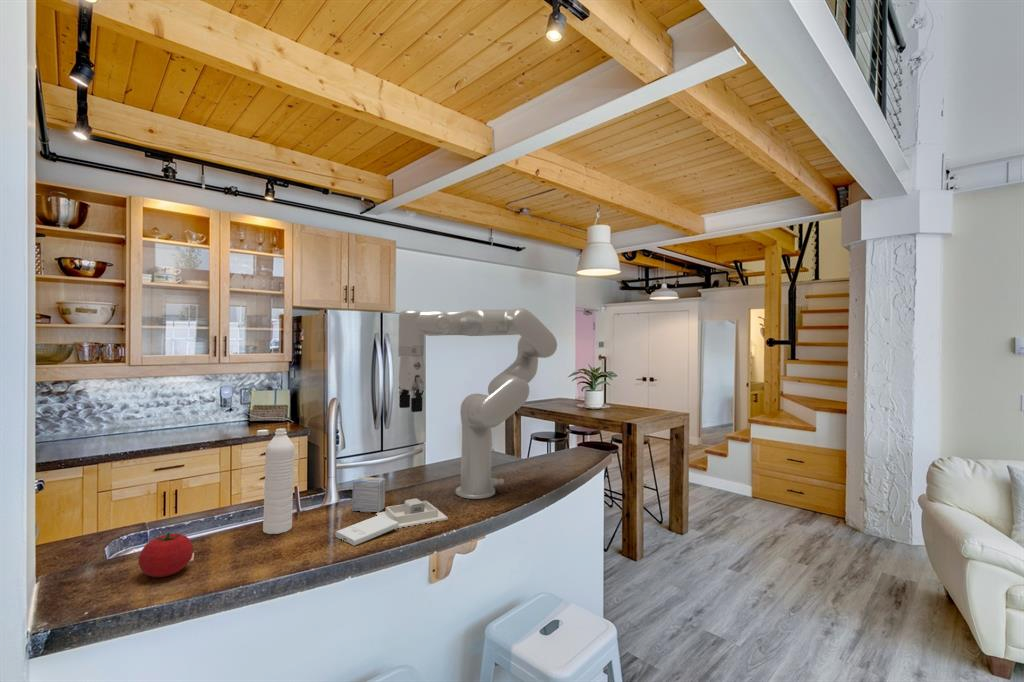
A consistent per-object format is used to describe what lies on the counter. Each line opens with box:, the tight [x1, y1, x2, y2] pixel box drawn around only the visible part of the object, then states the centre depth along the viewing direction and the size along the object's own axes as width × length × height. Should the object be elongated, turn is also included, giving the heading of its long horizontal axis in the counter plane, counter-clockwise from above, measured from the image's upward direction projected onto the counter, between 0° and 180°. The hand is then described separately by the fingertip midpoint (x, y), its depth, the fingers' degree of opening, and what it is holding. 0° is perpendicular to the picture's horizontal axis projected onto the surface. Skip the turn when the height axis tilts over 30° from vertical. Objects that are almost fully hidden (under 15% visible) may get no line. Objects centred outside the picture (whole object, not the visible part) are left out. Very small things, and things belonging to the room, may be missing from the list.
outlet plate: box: [375, 500, 449, 530], centre depth 126 cm, size 16×12×2 cm
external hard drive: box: [334, 515, 399, 547], centre depth 114 cm, size 2×8×12 cm
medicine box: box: [351, 476, 386, 513], centre depth 131 cm, size 8×4×9 cm, turn 84°
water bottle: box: [256, 427, 296, 535], centre depth 115 cm, size 9×6×25 cm
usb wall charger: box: [404, 498, 425, 515], centre depth 126 cm, size 4×7×4 cm, turn 33°
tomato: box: [137, 532, 194, 578], centre depth 93 cm, size 9×9×8 cm
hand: (410, 409), depth 138 cm, fingers open, 9 cm apart
